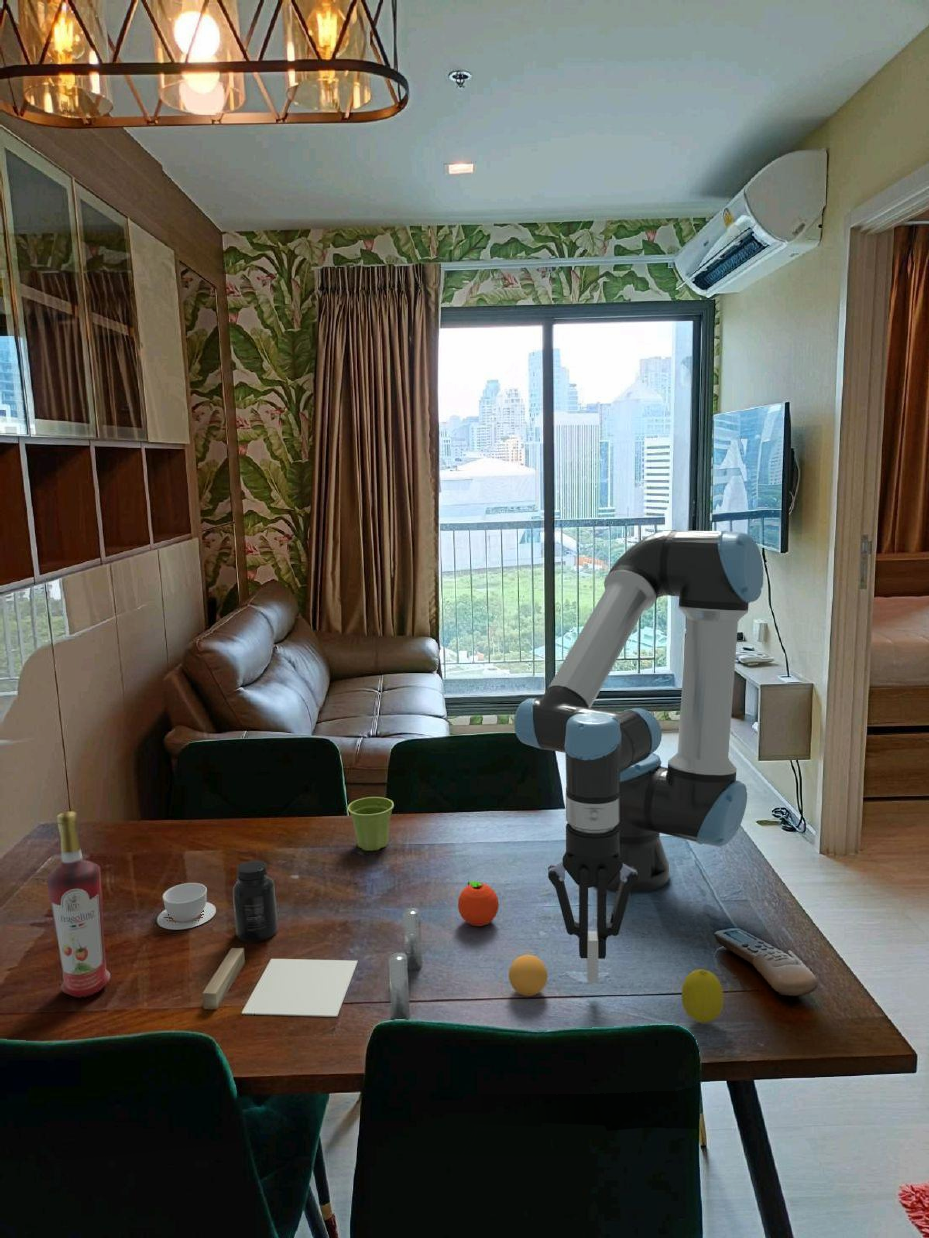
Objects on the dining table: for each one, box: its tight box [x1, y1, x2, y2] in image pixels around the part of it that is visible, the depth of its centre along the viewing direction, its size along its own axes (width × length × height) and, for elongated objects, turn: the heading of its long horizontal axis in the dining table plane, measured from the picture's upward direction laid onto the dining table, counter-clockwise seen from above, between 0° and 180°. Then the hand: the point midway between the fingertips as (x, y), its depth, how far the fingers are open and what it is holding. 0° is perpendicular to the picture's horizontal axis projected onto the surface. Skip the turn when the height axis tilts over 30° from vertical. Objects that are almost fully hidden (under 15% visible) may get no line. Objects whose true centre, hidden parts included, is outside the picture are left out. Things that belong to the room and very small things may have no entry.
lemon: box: [681, 968, 725, 1025], centre depth 119 cm, size 6×6×8 cm
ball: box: [508, 954, 548, 997], centre depth 128 cm, size 6×6×6 cm
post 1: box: [388, 952, 411, 1021], centre depth 123 cm, size 3×3×9 cm
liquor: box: [46, 811, 111, 999], centre depth 130 cm, size 7×7×28 cm
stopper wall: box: [202, 947, 246, 1010], centre depth 132 cm, size 2×12×2 cm, turn 175°
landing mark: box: [241, 958, 359, 1018], centre depth 131 cm, size 14×14×1 cm
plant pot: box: [347, 796, 395, 852], centre depth 180 cm, size 9×9×9 cm
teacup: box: [156, 882, 217, 931], centre depth 153 cm, size 10×10×5 cm
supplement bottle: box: [232, 860, 278, 943], centre depth 146 cm, size 7×7×12 cm
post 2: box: [402, 907, 423, 971], centre depth 135 cm, size 3×3×9 cm
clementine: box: [457, 880, 500, 927], centre depth 148 cm, size 8×7×7 cm
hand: (592, 977), depth 127 cm, fingers closed
